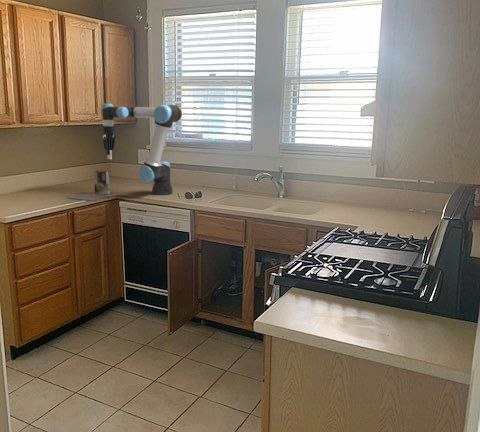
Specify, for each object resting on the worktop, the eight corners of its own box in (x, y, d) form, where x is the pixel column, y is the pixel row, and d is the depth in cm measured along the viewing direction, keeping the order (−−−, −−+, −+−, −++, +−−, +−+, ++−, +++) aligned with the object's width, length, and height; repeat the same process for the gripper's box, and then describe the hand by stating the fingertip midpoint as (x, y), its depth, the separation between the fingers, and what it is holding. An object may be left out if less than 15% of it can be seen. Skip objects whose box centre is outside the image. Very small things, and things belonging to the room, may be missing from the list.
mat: (108, 196, 328) (108, 195, 328) (91, 200, 312) (90, 200, 312) (85, 193, 336) (85, 193, 336) (67, 198, 320) (67, 197, 320)
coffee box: (110, 193, 340) (109, 170, 337) (107, 194, 334) (105, 172, 330) (98, 192, 341) (96, 170, 338) (94, 194, 335) (93, 171, 331)
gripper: (109, 125, 343) (111, 158, 349) (97, 126, 331) (99, 159, 337) (118, 125, 340) (119, 158, 346) (106, 126, 329) (108, 160, 334)
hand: (109, 159), depth 341 cm, fingers closed
